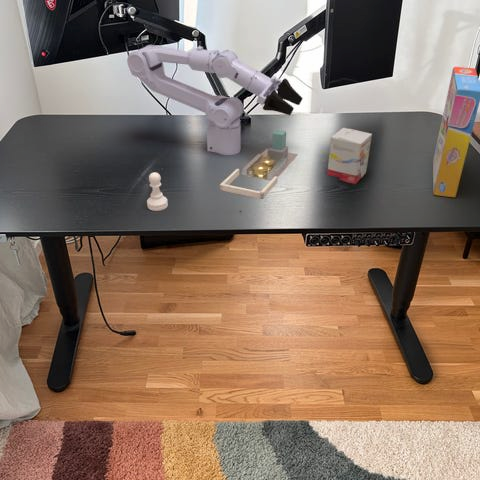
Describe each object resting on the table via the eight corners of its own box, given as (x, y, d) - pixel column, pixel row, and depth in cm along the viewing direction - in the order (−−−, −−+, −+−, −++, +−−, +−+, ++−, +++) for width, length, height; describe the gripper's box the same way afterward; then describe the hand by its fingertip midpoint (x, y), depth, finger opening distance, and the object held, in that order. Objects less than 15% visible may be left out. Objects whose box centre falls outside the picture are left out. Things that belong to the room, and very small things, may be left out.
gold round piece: (250, 175, 139) (250, 167, 138) (256, 169, 143) (256, 161, 141) (264, 178, 138) (264, 170, 137) (270, 172, 141) (270, 164, 140)
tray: (220, 193, 133) (219, 184, 132) (236, 177, 141) (236, 168, 140) (262, 202, 129) (262, 193, 128) (277, 185, 137) (277, 176, 136)
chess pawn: (171, 207, 127) (168, 174, 122) (152, 213, 125) (148, 179, 120) (162, 199, 131) (159, 166, 126) (144, 204, 129) (140, 171, 124)
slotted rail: (239, 177, 141) (239, 168, 139) (266, 151, 155) (266, 143, 154) (274, 184, 137) (274, 175, 136) (298, 157, 152) (298, 148, 150)
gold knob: (257, 168, 143) (257, 161, 142) (262, 163, 146) (263, 155, 145) (270, 171, 142) (271, 163, 140) (276, 165, 145) (276, 157, 143)
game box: (455, 198, 130) (482, 91, 115) (432, 195, 132) (456, 89, 117) (452, 165, 147) (476, 67, 132) (432, 162, 148) (453, 65, 133)
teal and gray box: (267, 157, 149) (267, 134, 145) (273, 152, 152) (273, 129, 149) (282, 160, 147) (283, 137, 144) (287, 154, 151) (288, 131, 147)
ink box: (355, 185, 137) (361, 143, 130) (325, 177, 141) (329, 136, 134) (367, 172, 143) (373, 132, 136) (338, 165, 147) (342, 126, 140)
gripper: (248, 76, 132) (294, 103, 131) (268, 60, 143) (311, 85, 142) (238, 99, 137) (282, 126, 136) (259, 82, 147) (299, 106, 146)
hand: (296, 106), depth 139 cm, fingers open, 7 cm apart
